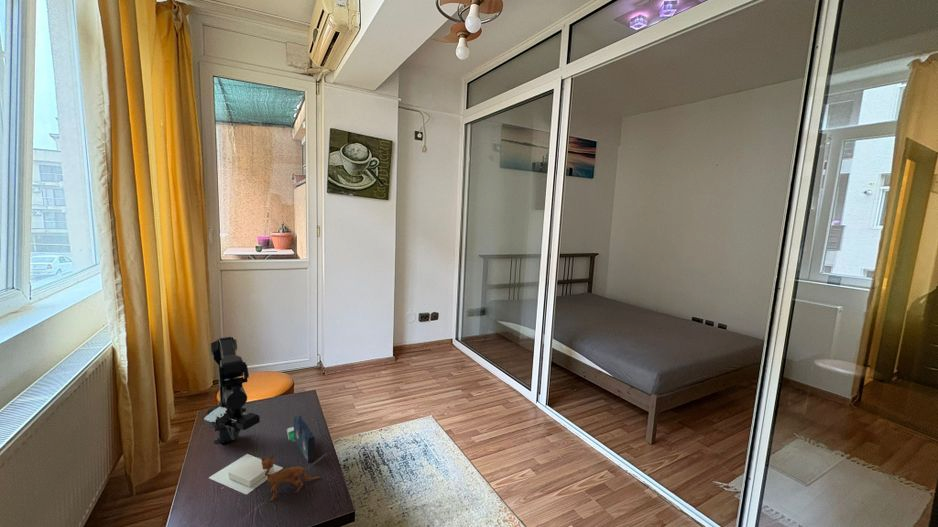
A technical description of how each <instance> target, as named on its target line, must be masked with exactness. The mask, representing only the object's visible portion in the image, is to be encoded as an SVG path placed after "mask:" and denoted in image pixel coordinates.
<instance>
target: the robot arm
mask: <svg viewBox="0 0 938 527" xmlns="http://www.w3.org/2000/svg"><path fill="white" fill-rule="evenodd" d="M237 342H238V341H237V339H235V338H234V337H233V336H226V337H225V336H224V337H220V338H217V339H216V340H215V341H213V342H211V343H210V346H209V352H210V356H212V360H213V361H214V362H215V363H216V364H217V372H218V373H217V374H218V386H219V387H218V388H219V389H218V391H219V403H218V404H217V405H215V406H213V407H211V408H209V410H208V411H207V412H206V416H205V417H204V419H203V420H204V422H205V424H206V425H207V427H209V428H212V429H213V430H214V432H217V439H215V440H214V441H213V442H214V444H216V445H222V446H223V447H225V446H228V445H229V444H231V443H233V442H235V441H237V440H238V439H240V438H241V436H240V435H239V434H240V433H241V430H242V431H246V430H247V429H250V428H251V427H254V426H256V425H257V424H259V423H261V422H260V421H261V416H260V415H259V414H257V413H253V412H249V413H248V412H247V413H246V411H247V408H246V407H244V405H246V403H247V402H248V395H247V393H246V390H245V388H244V387H243V384H245V383H248V379H249V377H250V376H249V370H248V368H249V367H248V364H247V362H245V361H244V360H243V358H242V356H239V355H237V350H238V343H237Z"/></svg>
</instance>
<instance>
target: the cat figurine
mask: <svg viewBox="0 0 938 527" xmlns="http://www.w3.org/2000/svg"><path fill="white" fill-rule="evenodd" d="M260 459H261V460H262V462H261V463H262V468H263V469H264V470H265V469H267V471H266V472H265V475H266V476H268V477H267V481H268V483H269V484H270V485H271V489H270V491H269V492H270V493H272V492H273V495H272V496H271V498H269V499H268V502H272V501H274V500H275V499H276V497H277V494H278V492H277V491H278V490H277V489H278V485H279V484H281V483H286V482H290V484H291V485H292V484H293V485H295V486H297V489H296V490H295V491H294V494H297V493H299V492H300V490H301V489H302V488H303V486H304V483H303V481H302V480H301V479H300V477H301V476H302V477H303V479H304V480H305V481H307V482H312V481H314V480H317V479H320V478H321V476H319V475H318V476H314V477H308V476H307V472H306V469H305V468H304V467H303V466H300V465H296V466H291V467H284V468H283V469H281V470H279V471H277V472H276V473H273V474H268V473H269V471H270V468H272V467H273V464H275V463H274V461H275V460H274V454H272V455H271V456H269V457H268V458H265V457H261V458H260Z"/></svg>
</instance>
